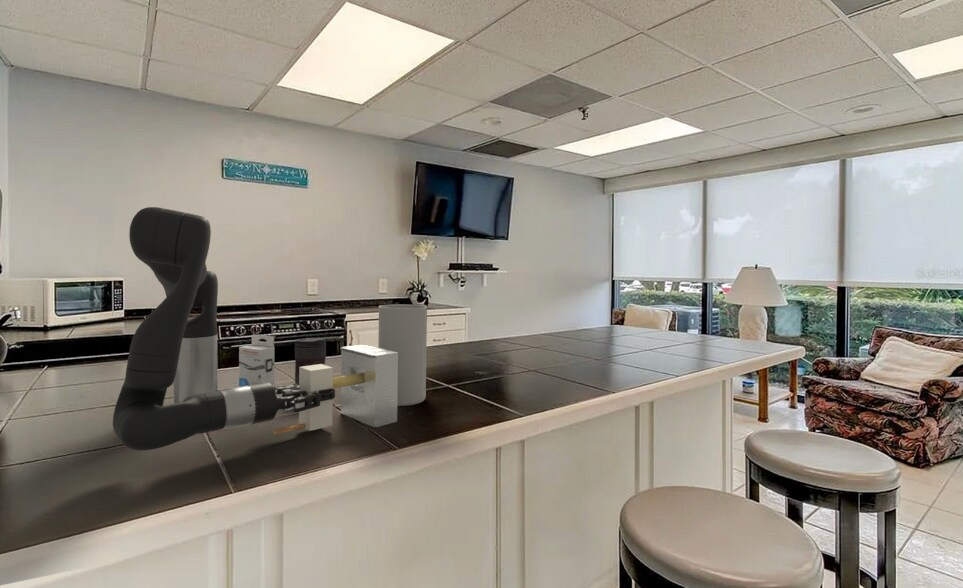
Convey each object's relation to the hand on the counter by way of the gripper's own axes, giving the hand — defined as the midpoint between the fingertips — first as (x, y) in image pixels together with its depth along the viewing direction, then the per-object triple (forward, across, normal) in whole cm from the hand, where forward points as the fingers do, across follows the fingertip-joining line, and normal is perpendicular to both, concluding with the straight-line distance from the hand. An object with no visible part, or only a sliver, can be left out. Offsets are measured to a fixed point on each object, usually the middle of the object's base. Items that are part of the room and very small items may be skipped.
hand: (327, 390), depth 104 cm
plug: (-1, 0, +7) cm, 7 cm away
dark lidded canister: (+11, +29, +8) cm, 32 cm away
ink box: (+3, +44, +8) cm, 45 cm away
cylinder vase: (+25, +6, +8) cm, 27 cm away
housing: (+11, 0, +8) cm, 13 cm away
